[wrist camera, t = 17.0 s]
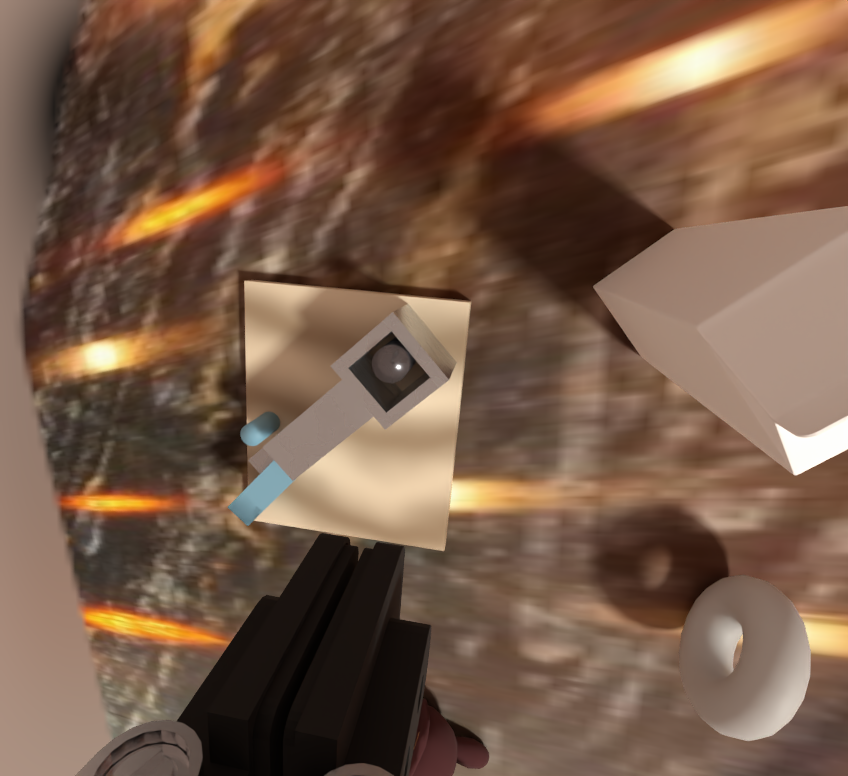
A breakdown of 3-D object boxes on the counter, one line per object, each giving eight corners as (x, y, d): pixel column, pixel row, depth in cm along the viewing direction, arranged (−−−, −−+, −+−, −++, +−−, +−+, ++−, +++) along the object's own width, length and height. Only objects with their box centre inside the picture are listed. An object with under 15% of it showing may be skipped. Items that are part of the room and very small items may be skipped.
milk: (591, 286, 33) (733, 342, 12) (676, 227, 32) (1009, 174, 11) (642, 359, 34) (859, 532, 13) (728, 305, 32) (1139, 403, 11)
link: (408, 303, 34) (392, 312, 29) (456, 362, 35) (449, 379, 30) (248, 441, 39) (212, 468, 34) (293, 491, 39) (263, 524, 35)
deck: (252, 279, 37) (244, 280, 36) (471, 300, 35) (470, 302, 33) (255, 512, 42) (248, 519, 41) (445, 542, 40) (444, 550, 39)
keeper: (275, 402, 39) (245, 422, 34) (323, 449, 39) (299, 475, 35) (230, 451, 41) (195, 476, 36) (276, 495, 41) (247, 526, 37)
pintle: (393, 330, 35) (372, 344, 29) (424, 333, 35) (409, 348, 29) (391, 361, 35) (370, 380, 30) (421, 364, 35) (407, 385, 30)
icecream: (297, 765, 40) (456, 847, 41) (334, 735, 36) (508, 826, 37) (329, 679, 46) (467, 753, 47) (364, 645, 42) (513, 727, 43)
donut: (722, 539, 36) (799, 641, 27) (767, 558, 36) (861, 668, 27) (653, 640, 39) (701, 765, 30) (695, 659, 39) (756, 790, 30)
